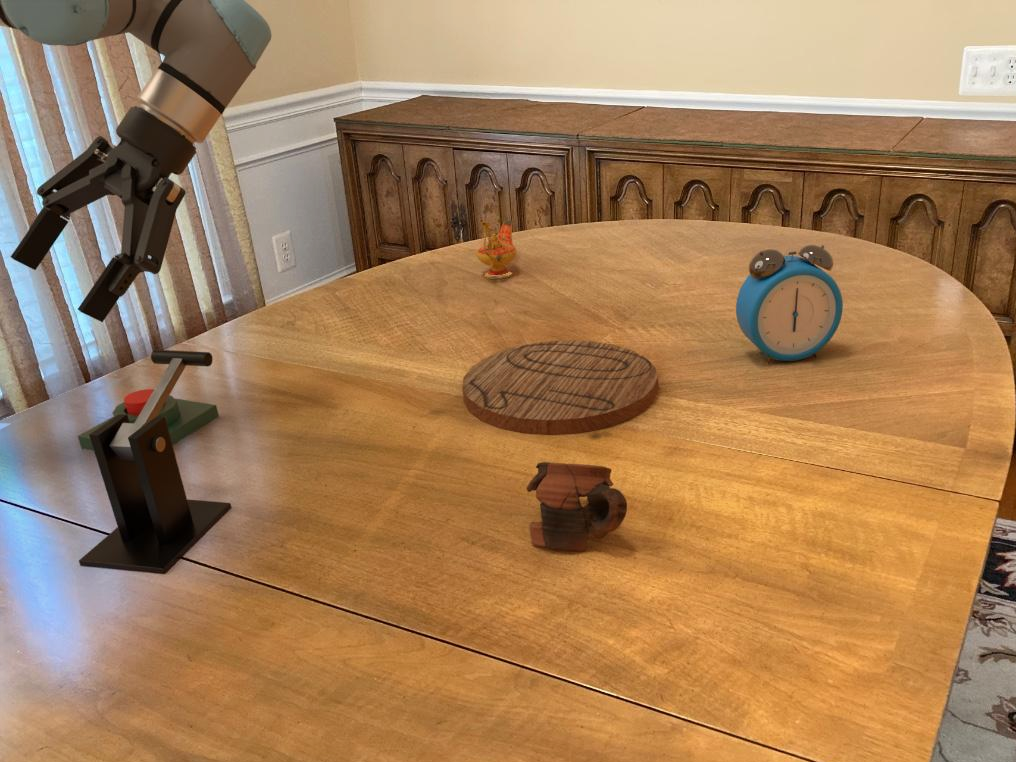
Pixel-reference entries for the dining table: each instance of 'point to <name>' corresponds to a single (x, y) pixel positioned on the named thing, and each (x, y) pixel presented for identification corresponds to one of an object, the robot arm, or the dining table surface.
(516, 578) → the dining table surface
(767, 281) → the alarm clock
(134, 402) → the button
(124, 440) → the lever
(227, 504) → the bracket
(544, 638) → the dining table surface
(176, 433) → the button block
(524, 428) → the trivet
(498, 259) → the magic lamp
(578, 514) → the pottery mug
